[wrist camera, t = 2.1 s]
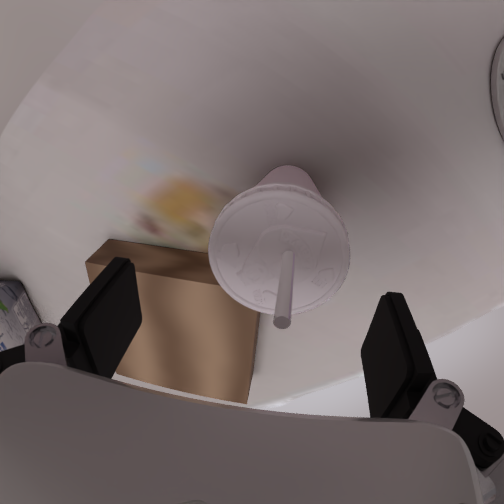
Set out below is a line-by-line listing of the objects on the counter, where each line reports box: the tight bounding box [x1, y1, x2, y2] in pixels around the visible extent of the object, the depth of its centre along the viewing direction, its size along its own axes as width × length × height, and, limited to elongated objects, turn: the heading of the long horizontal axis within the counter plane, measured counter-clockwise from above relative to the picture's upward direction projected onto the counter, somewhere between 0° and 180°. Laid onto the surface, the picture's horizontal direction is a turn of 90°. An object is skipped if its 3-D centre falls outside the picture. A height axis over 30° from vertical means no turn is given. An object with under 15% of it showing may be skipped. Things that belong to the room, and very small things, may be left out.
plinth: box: [85, 239, 260, 404], centre depth 28 cm, size 14×14×4 cm
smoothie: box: [208, 165, 350, 329], centre depth 16 cm, size 6×6×14 cm
